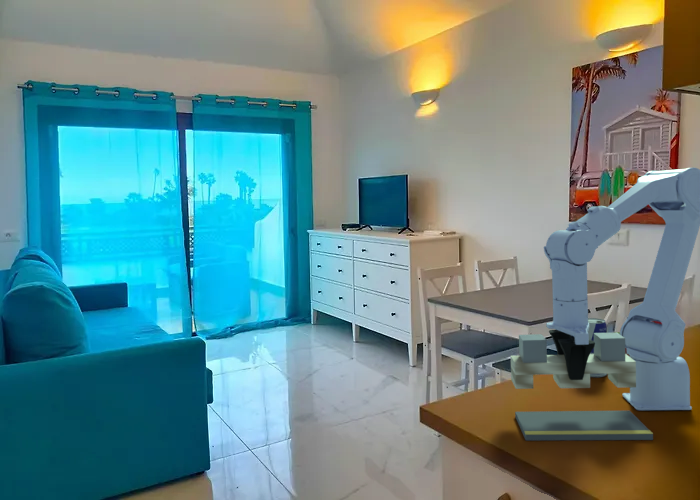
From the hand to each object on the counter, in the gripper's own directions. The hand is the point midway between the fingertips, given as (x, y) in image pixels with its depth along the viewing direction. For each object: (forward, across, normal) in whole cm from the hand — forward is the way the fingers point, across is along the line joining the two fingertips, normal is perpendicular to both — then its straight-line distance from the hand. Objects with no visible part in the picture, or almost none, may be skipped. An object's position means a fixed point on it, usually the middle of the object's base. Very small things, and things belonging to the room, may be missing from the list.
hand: (571, 374), depth 100 cm
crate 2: (-3, 0, +6) cm, 7 cm away
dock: (+8, +3, 0) cm, 9 cm away
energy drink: (+9, -26, +11) cm, 29 cm away
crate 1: (-3, 0, -7) cm, 7 cm away
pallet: (+2, 0, 0) cm, 2 cm away
